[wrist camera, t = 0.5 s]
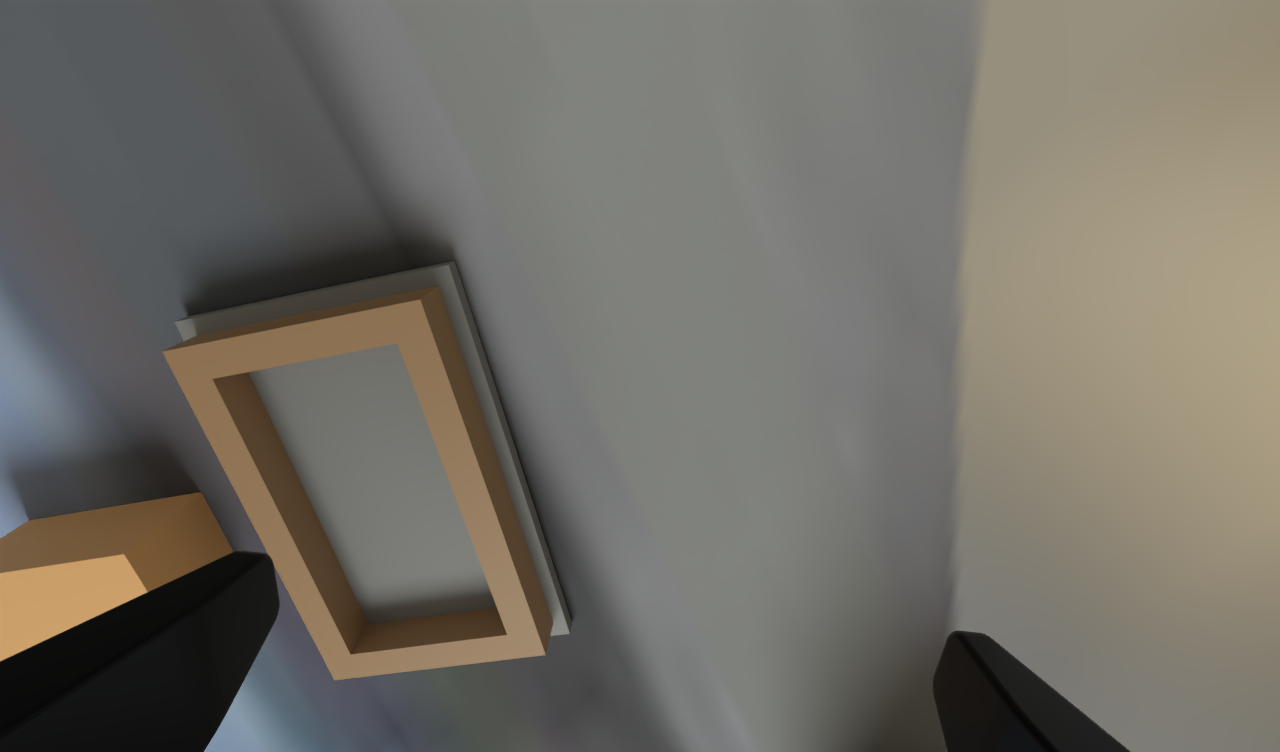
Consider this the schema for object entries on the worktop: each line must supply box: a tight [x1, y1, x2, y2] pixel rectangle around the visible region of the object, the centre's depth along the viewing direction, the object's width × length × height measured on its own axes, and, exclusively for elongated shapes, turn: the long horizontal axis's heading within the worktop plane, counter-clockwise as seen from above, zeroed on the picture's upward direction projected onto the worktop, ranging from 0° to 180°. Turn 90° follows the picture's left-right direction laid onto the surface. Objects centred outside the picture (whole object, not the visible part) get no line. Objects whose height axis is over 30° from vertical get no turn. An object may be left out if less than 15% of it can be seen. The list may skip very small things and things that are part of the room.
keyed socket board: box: [162, 261, 572, 680], centre depth 24 cm, size 16×10×2 cm, turn 12°
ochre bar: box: [0, 492, 234, 661], centre depth 25 cm, size 8×4×4 cm, turn 102°
